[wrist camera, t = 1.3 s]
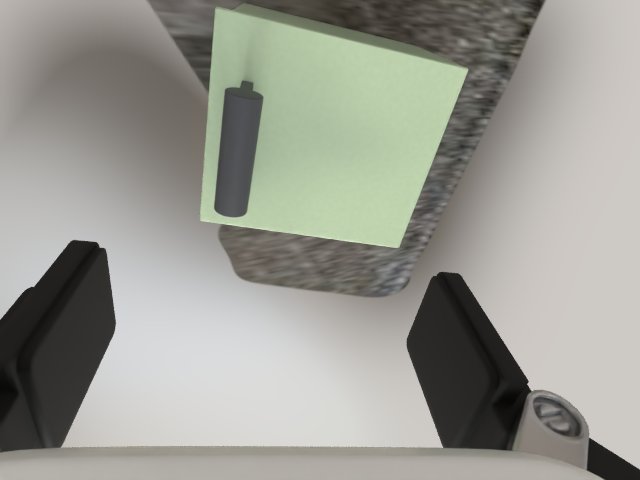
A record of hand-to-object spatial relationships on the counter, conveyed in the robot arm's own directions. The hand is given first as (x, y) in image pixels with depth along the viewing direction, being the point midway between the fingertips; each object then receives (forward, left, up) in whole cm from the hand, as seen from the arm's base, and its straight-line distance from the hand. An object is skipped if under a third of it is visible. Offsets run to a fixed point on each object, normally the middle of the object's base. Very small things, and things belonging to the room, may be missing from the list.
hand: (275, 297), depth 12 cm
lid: (+3, -1, -17) cm, 18 cm away
